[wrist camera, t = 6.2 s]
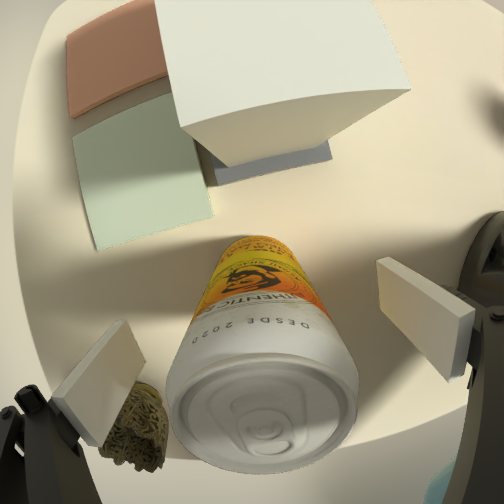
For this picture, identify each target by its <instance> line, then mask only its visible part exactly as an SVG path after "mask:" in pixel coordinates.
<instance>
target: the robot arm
mask: <svg viewBox="0 0 504 504" xmlns="http://www.w3.org/2000/svg"><path fill="white" fill-rule="evenodd" d="M376 269H377V279H378V290H379V302H380V310H381V311H382V312H383V313H384V314H385V315H386V316H387V317H388V318H389V319H390V320H391V321H392V322H393V323H394V324H395V325H396V326H397V327H398V328H399V329H400V330H401V331H402V333H403V334H404V335H405V336H406V337H407V338H408V339H409V340H410V341H411V342H412V343H413V344H414V345H415V346H416V348H417V349H418V350H419V351H420V352H421V353H422V354H423V355H424V356H425V357H426V358H427V360H428V361H429V362H430V363H431V364H432V365H433V366H434V367H435V369H436V370H437V371H438V372H439V373H440V374H441V375H442V376H443V378H444V379H445V380H446V381H447V382H448V383H450V382H452V381H453V380H455V379H457V378H459V377H460V376H462V375H464V372H465V368H466V364H467V362H468V363H469V364H470V365H471V366H472V367H473V368H472V372H471V376H470V379H469V383H468V386H467V389H469V397H468V404H467V412H466V417H465V423H464V428H463V433H462V438H461V442H460V446H459V450H458V453H457V454H456V455H455V456H454V457H453V458H452V459H451V460H450V461H449V462H448V463H447V464H446V465H444V466H443V467H442V468H441V469H440V470H439V471H438V472H437V473H436V474H435V475H434V476H433V477H432V479H431V480H430V482H429V484H428V486H427V489H426V492H425V495H424V503H423V504H504V212H500V213H498V214H496V215H494V216H493V217H492V218H491V219H489V220H488V222H487V223H486V224H485V225H484V226H483V227H482V229H481V230H480V232H479V233H478V235H477V237H476V238H475V240H474V242H473V244H472V246H471V249H470V251H469V253H468V256H467V258H466V261H465V264H464V267H463V271H462V275H461V279H460V284H459V289H458V290H456V289H454V288H451V287H447V286H438V285H437V284H435V283H433V282H432V281H430V280H428V279H427V278H425V277H423V276H422V275H420V274H418V273H417V272H415V271H413V270H411V269H410V268H408V267H406V266H404V265H403V264H401V263H399V262H397V261H396V260H394V259H392V258H390V257H389V256H388V257H385V258H382V259H378V260H376ZM145 362H146V361H145V359H144V357H143V355H142V353H141V351H140V348H139V346H138V344H137V342H136V340H135V338H134V336H133V333H132V331H131V329H130V327H129V324H128V322H127V320H121V321H115V322H114V323H113V325H112V326H111V327H110V328H109V329H108V330H107V331H106V332H105V333H104V335H103V336H102V337H101V338H100V339H99V340H98V341H97V342H96V344H95V345H94V346H93V347H92V348H91V349H90V350H89V352H88V353H87V354H86V355H85V356H84V357H83V359H82V360H81V361H80V362H79V363H78V364H77V366H76V367H75V368H74V369H73V370H72V372H71V373H70V374H69V375H68V376H67V378H66V379H65V380H64V381H63V382H62V384H61V385H60V386H59V387H58V389H57V390H56V391H55V392H54V394H53V395H52V396H51V399H50V400H49V401H48V402H47V401H46V400H45V398H44V397H43V395H42V394H41V392H40V391H39V389H38V387H37V386H36V385H28V386H25V387H23V388H22V389H21V390H19V391H18V392H17V393H16V395H15V397H14V399H15V400H16V402H17V403H18V405H19V406H20V407H21V409H22V410H23V411H24V413H25V414H22V415H21V414H20V413H19V411H18V410H17V409H16V407H14V406H9V407H5V408H3V409H2V411H1V412H0V504H102V502H101V500H100V497H99V495H98V492H97V490H96V487H95V484H94V482H93V479H92V476H91V474H90V471H89V468H88V465H87V462H86V458H85V455H84V452H83V448H82V446H81V445H80V444H79V442H78V439H79V438H80V436H81V438H82V439H83V440H84V441H85V442H86V443H87V445H88V446H94V447H101V448H102V446H103V444H104V441H105V439H106V437H107V435H108V433H109V431H110V429H111V427H112V425H113V423H114V421H115V419H116V417H117V415H118V414H119V412H120V410H121V408H122V406H123V404H124V402H125V400H126V398H127V396H128V394H129V392H130V390H131V388H132V387H133V385H134V383H135V381H136V379H137V377H138V375H139V373H140V372H141V370H142V368H143V366H144V364H145ZM15 443H16V444H17V445H18V447H19V448H20V449H21V450H22V451H23V452H24V456H21V455H20V454H19V453H18V452H17V450H16V449H15Z"/></svg>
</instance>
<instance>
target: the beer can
mask: <svg viewBox="0 0 504 504" xmlns="http://www.w3.org/2000/svg"><path fill="white" fill-rule="evenodd" d="M358 393H359V375H358V371H357V368H356V365H355V363H354V361H353V359H352V357H351V355H350V353H349V351H348V350H347V348H346V346H345V344H344V342H343V340H342V339H341V337H340V335H339V333H338V331H337V329H336V328H335V326H334V324H333V322H332V320H331V319H330V317H329V315H328V313H327V312H326V310H325V308H324V306H323V304H322V303H321V301H320V299H319V297H318V296H317V294H316V292H315V290H314V289H313V287H312V285H311V284H310V282H309V280H308V278H307V277H306V275H305V273H304V271H303V270H302V268H301V266H300V265H299V263H298V261H297V260H296V258H295V256H294V255H293V253H292V252H291V251H290V249H289V248H288V247H287V246H286V245H284V244H283V243H282V242H280V241H278V240H276V239H274V238H271V237H267V236H249V237H245V238H242V239H240V240H238V241H236V242H235V243H233V244H232V245H231V246H229V247H228V248H227V249H226V250H225V252H224V253H223V255H222V256H221V258H220V260H219V262H218V264H217V266H216V269H215V271H214V273H213V275H212V277H211V279H210V281H209V283H208V286H207V288H206V290H205V292H204V294H203V296H202V299H201V301H200V303H199V305H198V307H197V309H196V312H195V314H194V316H193V318H192V320H191V323H190V325H189V327H188V329H187V332H186V334H185V336H184V338H183V340H182V343H181V345H180V347H179V349H178V352H177V354H176V356H175V359H174V361H173V363H172V365H171V368H170V370H169V373H168V376H167V381H166V396H167V401H168V404H169V408H170V421H171V426H172V429H173V431H174V433H175V435H176V437H177V438H178V440H179V441H180V443H181V444H182V445H183V446H184V447H185V448H186V449H187V450H188V451H189V452H191V453H192V454H193V455H195V456H196V457H198V458H199V459H201V460H203V461H204V462H207V463H209V464H211V465H213V466H216V467H219V468H221V469H225V470H228V471H233V472H238V473H245V474H275V473H283V472H287V471H292V470H296V469H300V468H302V467H305V466H308V465H310V464H313V463H315V462H317V461H319V460H321V459H323V458H324V457H326V456H327V455H329V454H330V453H332V452H333V451H334V450H336V449H337V448H338V447H339V446H340V445H341V444H342V443H343V442H344V441H345V439H346V438H347V437H348V436H349V434H350V432H351V431H352V429H353V427H354V424H355V421H356V417H357V403H356V402H357V398H358Z"/></svg>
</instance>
